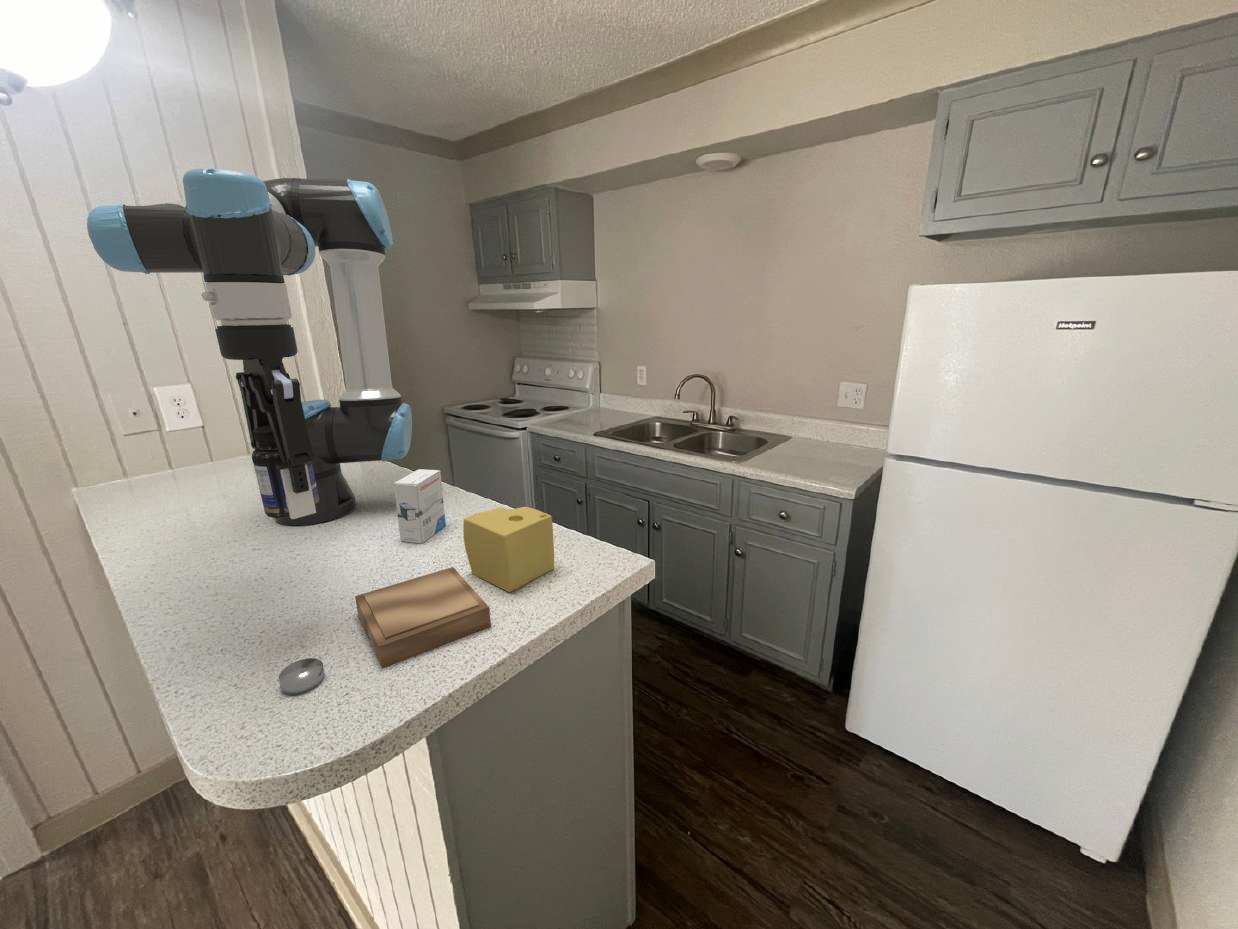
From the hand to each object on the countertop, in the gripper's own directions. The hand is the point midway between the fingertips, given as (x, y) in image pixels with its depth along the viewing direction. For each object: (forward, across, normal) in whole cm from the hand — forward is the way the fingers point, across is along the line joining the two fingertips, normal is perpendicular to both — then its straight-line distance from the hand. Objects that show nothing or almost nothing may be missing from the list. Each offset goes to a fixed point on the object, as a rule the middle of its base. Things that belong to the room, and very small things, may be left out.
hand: (292, 508), depth 66 cm
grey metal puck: (+17, +11, -6) cm, 21 cm away
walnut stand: (+17, +11, +10) cm, 23 cm away
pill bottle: (+1, 0, 0) cm, 1 cm away
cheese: (+17, +10, +26) cm, 33 cm away
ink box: (+17, -15, +25) cm, 34 cm away
